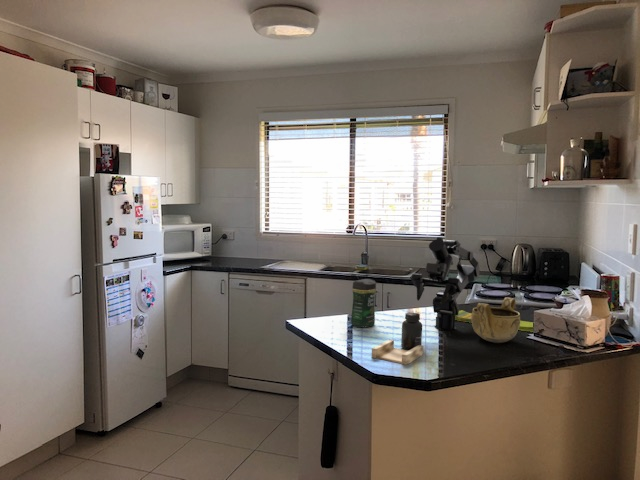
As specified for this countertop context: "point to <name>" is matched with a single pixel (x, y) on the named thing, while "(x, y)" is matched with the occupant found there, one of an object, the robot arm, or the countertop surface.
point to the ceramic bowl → (496, 321)
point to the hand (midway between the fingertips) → (429, 301)
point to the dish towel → (467, 318)
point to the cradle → (396, 353)
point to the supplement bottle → (411, 331)
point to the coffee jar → (363, 303)
